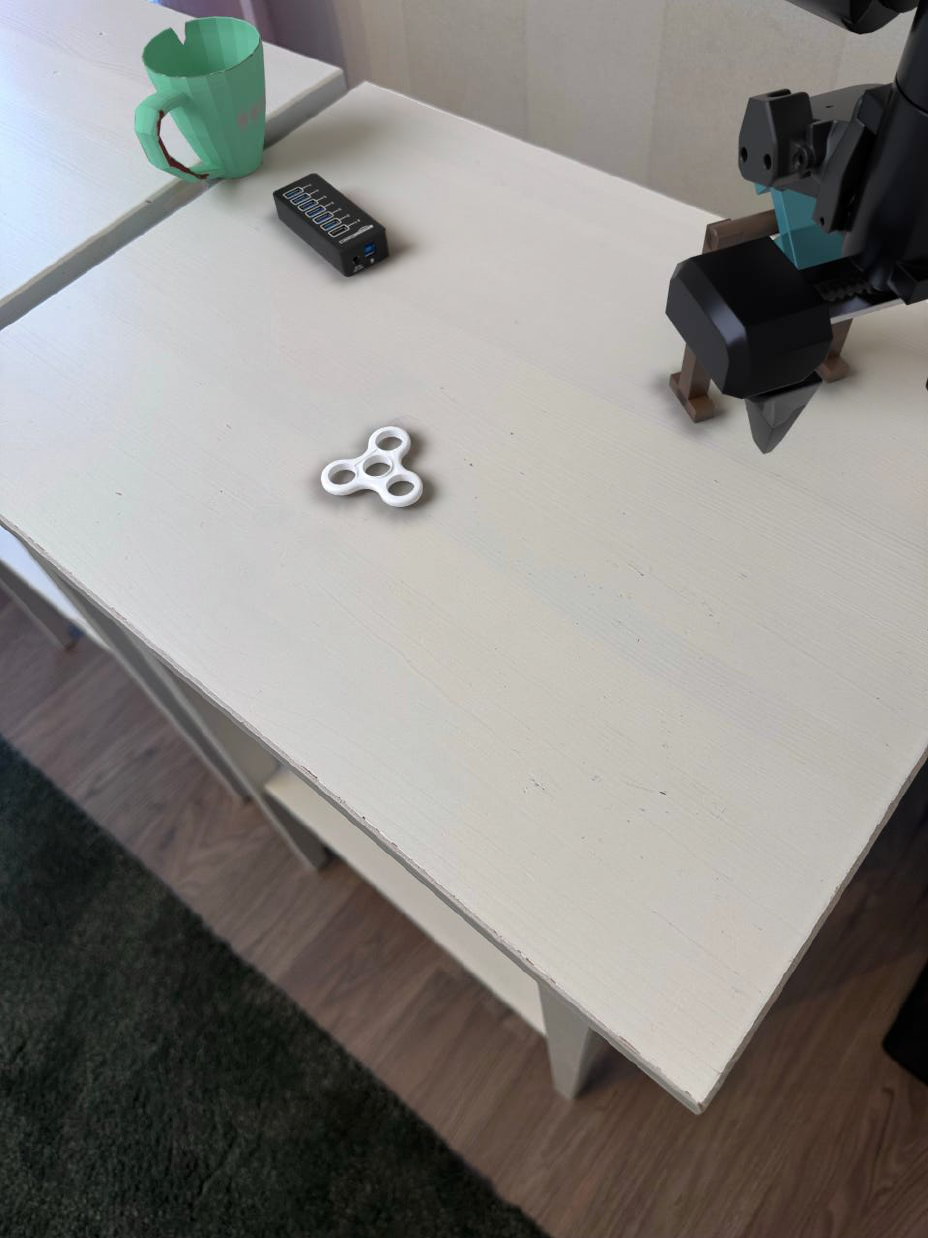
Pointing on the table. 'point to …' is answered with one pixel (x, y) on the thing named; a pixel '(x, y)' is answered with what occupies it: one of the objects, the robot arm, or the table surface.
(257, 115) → the mug
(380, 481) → the fidget spinner
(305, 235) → the multiport hub
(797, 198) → the teal angular block
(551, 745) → the table surface
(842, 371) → the rack
